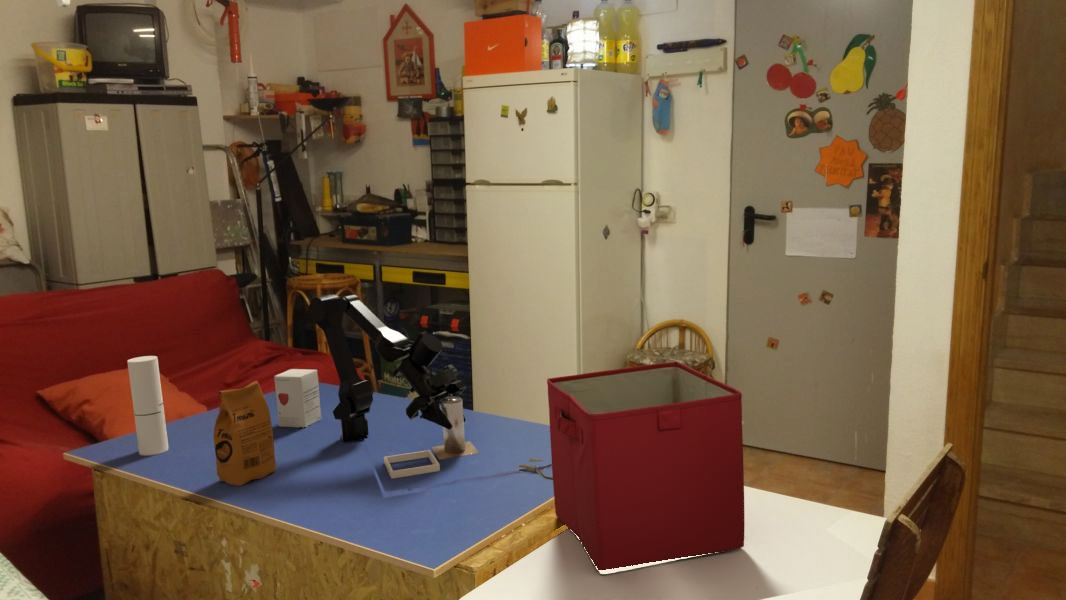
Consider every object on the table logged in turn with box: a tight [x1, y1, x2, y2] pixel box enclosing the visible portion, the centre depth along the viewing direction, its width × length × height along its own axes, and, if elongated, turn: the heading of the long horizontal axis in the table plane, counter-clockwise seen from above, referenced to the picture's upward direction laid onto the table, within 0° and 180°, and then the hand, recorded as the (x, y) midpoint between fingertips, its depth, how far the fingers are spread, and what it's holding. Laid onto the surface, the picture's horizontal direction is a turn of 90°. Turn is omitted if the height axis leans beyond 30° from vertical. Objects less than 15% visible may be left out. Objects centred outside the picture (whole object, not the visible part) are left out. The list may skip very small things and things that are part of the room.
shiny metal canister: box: [440, 396, 466, 454], centre depth 203 cm, size 5×5×13 cm
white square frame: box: [383, 449, 441, 479], centre depth 194 cm, size 11×11×2 cm
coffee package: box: [213, 380, 277, 487], centre depth 195 cm, size 10×12×22 cm
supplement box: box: [274, 368, 322, 429], centre depth 237 cm, size 9×9×15 cm
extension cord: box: [518, 458, 553, 480], centre depth 190 cm, size 12×16×2 cm
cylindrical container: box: [127, 355, 170, 456], centre depth 217 cm, size 7×7×25 cm
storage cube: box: [546, 361, 746, 570], centre depth 153 cm, size 32×28×29 cm
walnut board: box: [430, 440, 480, 460], centre depth 204 cm, size 10×10×1 cm
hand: (457, 425), depth 203 cm, fingers closed on shiny metal canister, 5 cm apart
